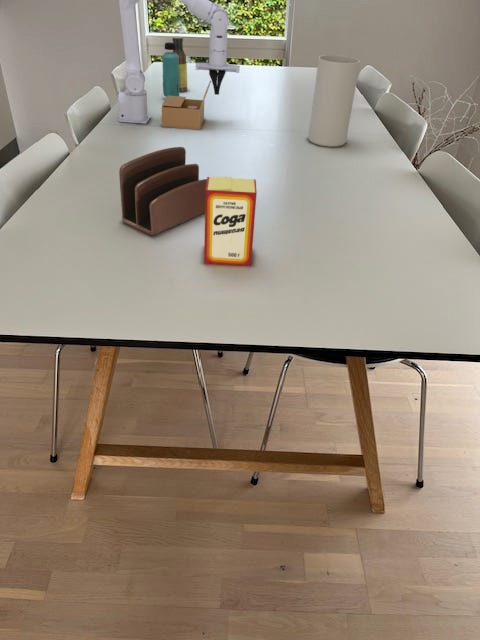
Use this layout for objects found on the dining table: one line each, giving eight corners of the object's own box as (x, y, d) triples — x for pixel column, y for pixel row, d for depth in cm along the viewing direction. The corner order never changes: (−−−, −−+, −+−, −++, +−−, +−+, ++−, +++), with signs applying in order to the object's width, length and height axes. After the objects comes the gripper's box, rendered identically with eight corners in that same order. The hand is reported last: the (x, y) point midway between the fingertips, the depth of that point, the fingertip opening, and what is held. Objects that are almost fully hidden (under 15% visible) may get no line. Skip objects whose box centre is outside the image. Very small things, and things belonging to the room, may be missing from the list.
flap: (204, 98, 187) (204, 98, 187) (199, 107, 177) (200, 108, 177) (210, 80, 183) (211, 80, 184) (206, 89, 173) (207, 89, 173)
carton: (204, 119, 191) (204, 98, 187) (199, 129, 181) (200, 107, 177) (168, 116, 191) (167, 95, 187) (162, 126, 181) (161, 104, 177)
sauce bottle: (188, 89, 225) (188, 36, 213) (185, 93, 220) (185, 38, 208) (173, 88, 225) (172, 35, 214) (170, 91, 220) (169, 37, 209)
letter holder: (121, 222, 121) (116, 161, 113) (183, 198, 134) (183, 141, 126) (152, 237, 116) (149, 174, 108) (213, 210, 129) (214, 152, 121)
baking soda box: (250, 250, 114) (255, 177, 105) (250, 265, 109) (256, 190, 99) (205, 248, 114) (207, 174, 104) (204, 263, 108) (205, 187, 99)
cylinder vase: (344, 149, 172) (359, 64, 158) (306, 144, 174) (317, 60, 159) (346, 138, 182) (360, 57, 168) (309, 133, 184) (320, 53, 169)
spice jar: (185, 123, 184) (185, 108, 181) (187, 120, 187) (187, 105, 184) (197, 124, 184) (197, 109, 181) (198, 121, 187) (199, 106, 184)
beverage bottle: (178, 102, 208) (178, 44, 196) (161, 100, 208) (160, 43, 196) (180, 97, 213) (180, 41, 201) (164, 96, 213) (162, 40, 201)
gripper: (194, 50, 172) (194, 95, 180) (239, 53, 172) (237, 98, 180) (197, 46, 178) (196, 90, 186) (240, 50, 178) (238, 93, 186)
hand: (216, 93), depth 183 cm, fingers closed
